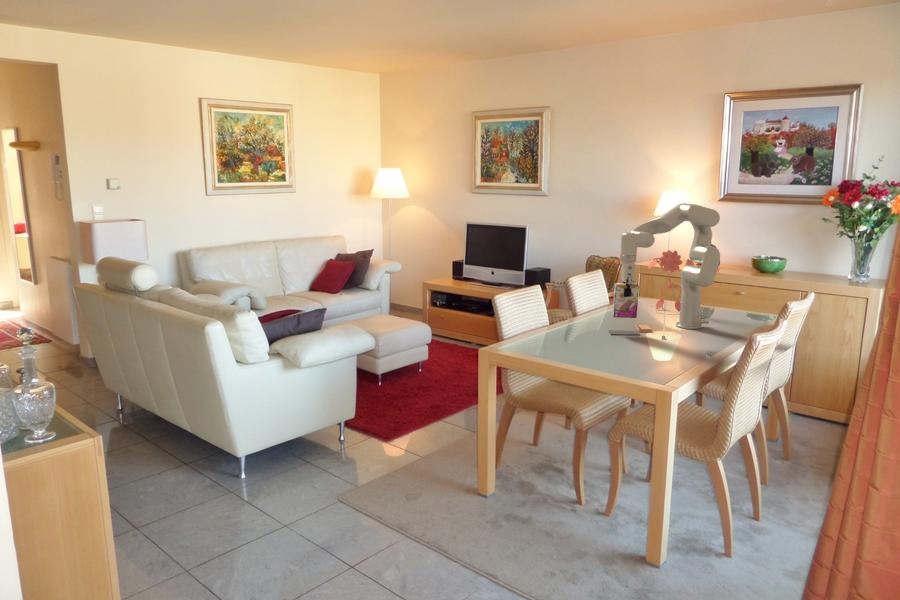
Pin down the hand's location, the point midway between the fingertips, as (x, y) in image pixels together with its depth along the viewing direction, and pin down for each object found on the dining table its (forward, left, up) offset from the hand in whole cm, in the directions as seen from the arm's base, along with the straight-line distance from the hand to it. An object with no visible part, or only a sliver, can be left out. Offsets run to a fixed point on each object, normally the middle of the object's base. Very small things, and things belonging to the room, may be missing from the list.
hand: (626, 295), depth 320 cm
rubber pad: (0, 0, -19) cm, 19 cm away
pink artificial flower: (-34, -52, -20) cm, 65 cm away
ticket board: (-11, -8, -19) cm, 23 cm away
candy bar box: (0, 0, -11) cm, 11 cm away
